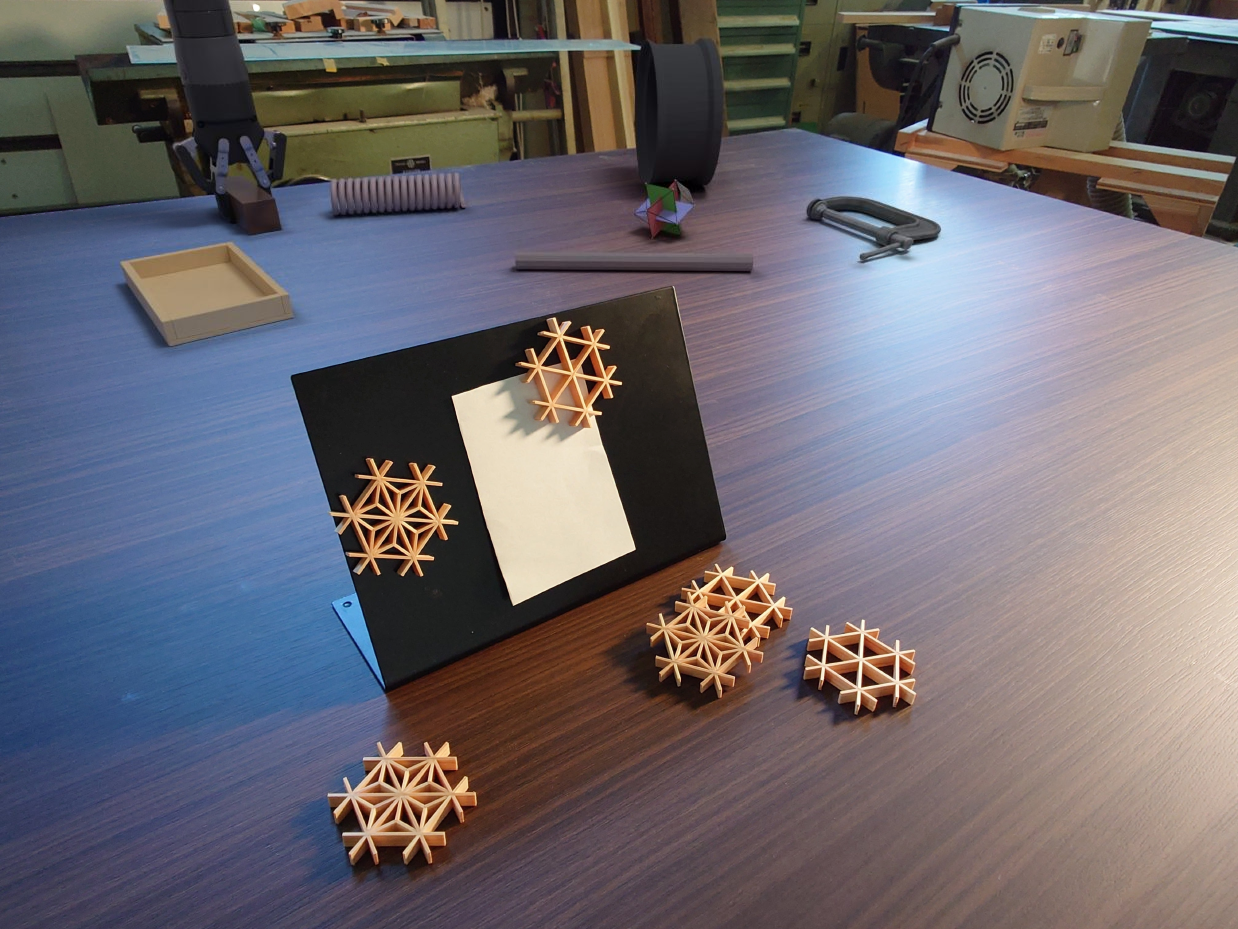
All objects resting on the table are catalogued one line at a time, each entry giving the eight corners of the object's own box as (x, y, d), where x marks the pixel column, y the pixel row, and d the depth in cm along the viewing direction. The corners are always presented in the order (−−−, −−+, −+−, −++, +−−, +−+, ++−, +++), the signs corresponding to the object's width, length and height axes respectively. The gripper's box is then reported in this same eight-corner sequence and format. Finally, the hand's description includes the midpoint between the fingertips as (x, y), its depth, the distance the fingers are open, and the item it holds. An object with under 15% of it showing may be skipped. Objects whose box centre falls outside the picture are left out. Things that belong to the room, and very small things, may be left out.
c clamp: (970, 244, 102) (975, 222, 101) (862, 263, 96) (866, 240, 95) (865, 202, 117) (868, 183, 116) (766, 216, 111) (768, 196, 110)
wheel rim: (716, 201, 117) (728, 47, 106) (655, 203, 116) (660, 47, 105) (687, 167, 134) (695, 30, 122) (633, 168, 132) (635, 30, 121)
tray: (169, 346, 75) (161, 321, 74) (126, 283, 88) (119, 261, 87) (294, 317, 81) (288, 293, 80) (237, 262, 94) (231, 241, 93)
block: (250, 235, 102) (242, 203, 100) (219, 208, 111) (211, 179, 109) (281, 229, 104) (274, 198, 102) (249, 204, 113) (242, 174, 111)
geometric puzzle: (662, 233, 98) (687, 171, 98) (617, 221, 101) (641, 161, 101) (685, 255, 104) (709, 197, 104) (642, 244, 107) (665, 187, 107)
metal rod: (752, 273, 93) (753, 256, 92) (515, 271, 92) (514, 254, 91) (749, 267, 94) (751, 251, 93) (517, 265, 94) (516, 249, 93)
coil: (325, 186, 105) (465, 179, 109) (326, 173, 109) (461, 167, 112) (332, 221, 108) (468, 212, 112) (333, 207, 112) (464, 200, 115)
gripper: (264, 68, 104) (293, 202, 114) (144, 77, 97) (185, 220, 107) (284, 75, 99) (311, 215, 109) (158, 86, 92) (200, 234, 102)
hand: (248, 217), depth 108 cm, fingers closed on block, 4 cm apart
